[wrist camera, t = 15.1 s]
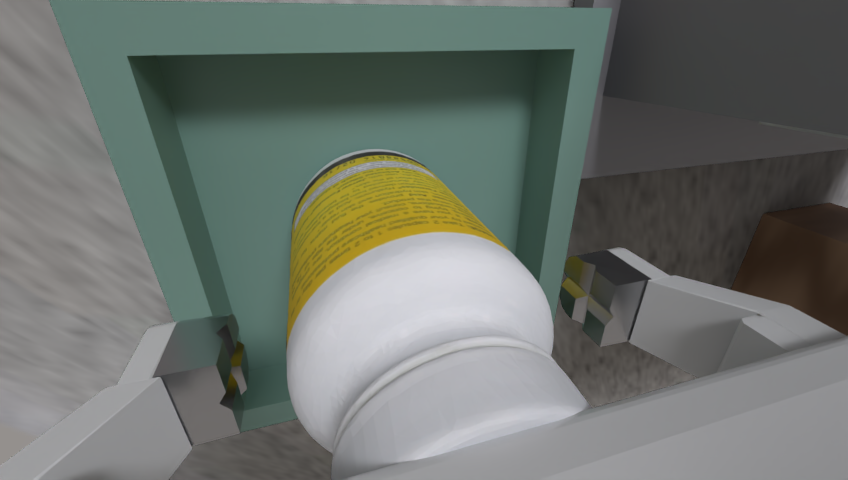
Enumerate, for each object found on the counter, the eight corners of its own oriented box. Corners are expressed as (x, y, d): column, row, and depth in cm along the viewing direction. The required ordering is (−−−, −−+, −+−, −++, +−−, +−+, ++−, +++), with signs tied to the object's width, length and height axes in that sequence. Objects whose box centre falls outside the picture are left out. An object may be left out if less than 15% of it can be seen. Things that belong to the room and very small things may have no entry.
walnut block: (762, 213, 20) (919, 269, 15) (828, 202, 21) (994, 251, 16) (729, 291, 23) (855, 363, 17) (790, 277, 24) (925, 341, 19)
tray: (105, 9, 10) (48, -1, 7) (559, 14, 13) (612, 8, 11) (230, 383, 15) (219, 437, 13) (518, 323, 19) (547, 359, 16)
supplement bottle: (254, 216, 12) (154, 592, 4) (388, 110, 12) (597, 264, 4) (360, 312, 15) (437, 650, 7) (471, 228, 15) (697, 471, 6)
